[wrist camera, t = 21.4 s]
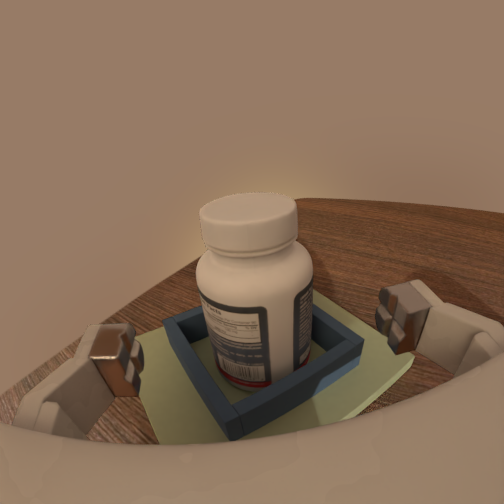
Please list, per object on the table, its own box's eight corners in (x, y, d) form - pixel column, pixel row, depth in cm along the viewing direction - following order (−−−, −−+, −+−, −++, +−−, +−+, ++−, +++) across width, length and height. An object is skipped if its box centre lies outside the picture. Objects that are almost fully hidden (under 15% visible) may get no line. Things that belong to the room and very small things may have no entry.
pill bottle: (282, 318, 19) (277, 182, 15) (327, 371, 15) (341, 209, 11) (204, 343, 17) (175, 201, 13) (234, 408, 13) (200, 242, 9)
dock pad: (196, 508, 9) (177, 492, 7) (125, 352, 18) (110, 318, 17) (411, 366, 15) (425, 330, 13) (291, 285, 24) (291, 252, 23)
